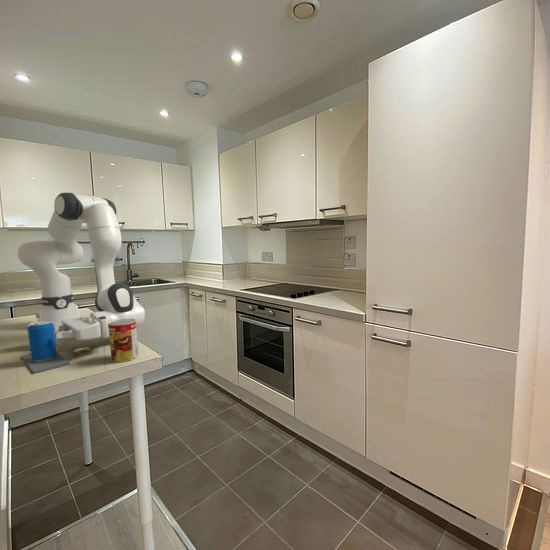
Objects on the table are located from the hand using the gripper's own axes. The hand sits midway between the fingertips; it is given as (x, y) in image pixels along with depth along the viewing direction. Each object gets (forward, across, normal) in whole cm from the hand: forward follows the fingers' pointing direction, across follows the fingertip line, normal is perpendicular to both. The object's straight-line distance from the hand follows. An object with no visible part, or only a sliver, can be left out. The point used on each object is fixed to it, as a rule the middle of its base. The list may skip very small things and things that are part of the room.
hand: (52, 333), depth 101 cm
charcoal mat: (+3, 0, +8) cm, 9 cm away
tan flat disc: (-8, -2, +8) cm, 12 cm away
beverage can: (+3, 0, +8) cm, 8 cm away
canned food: (-15, +18, +9) cm, 25 cm away
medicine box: (0, -18, +9) cm, 20 cm away
